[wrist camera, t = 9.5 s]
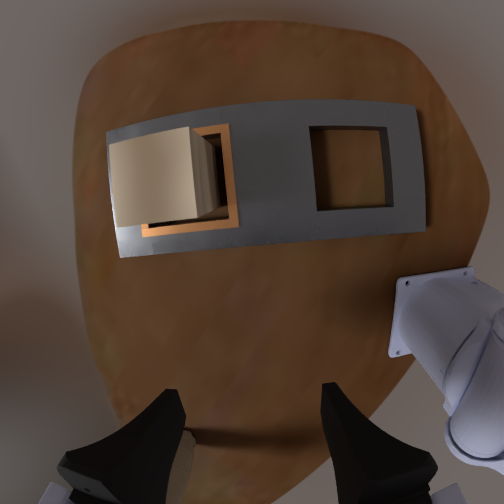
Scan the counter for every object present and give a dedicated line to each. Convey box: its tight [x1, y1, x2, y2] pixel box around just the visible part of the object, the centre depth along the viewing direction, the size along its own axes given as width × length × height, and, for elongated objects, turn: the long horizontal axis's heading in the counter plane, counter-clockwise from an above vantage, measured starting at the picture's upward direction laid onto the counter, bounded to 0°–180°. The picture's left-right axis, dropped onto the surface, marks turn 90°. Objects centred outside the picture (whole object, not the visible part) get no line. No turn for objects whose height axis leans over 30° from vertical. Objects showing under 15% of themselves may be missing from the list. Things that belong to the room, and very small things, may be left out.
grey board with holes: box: [106, 99, 426, 258], centre depth 19 cm, size 24×10×2 cm, turn 96°
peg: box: [109, 127, 221, 228], centre depth 16 cm, size 4×4×8 cm
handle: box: [166, 430, 196, 504], centre depth 19 cm, size 5×6×15 cm
